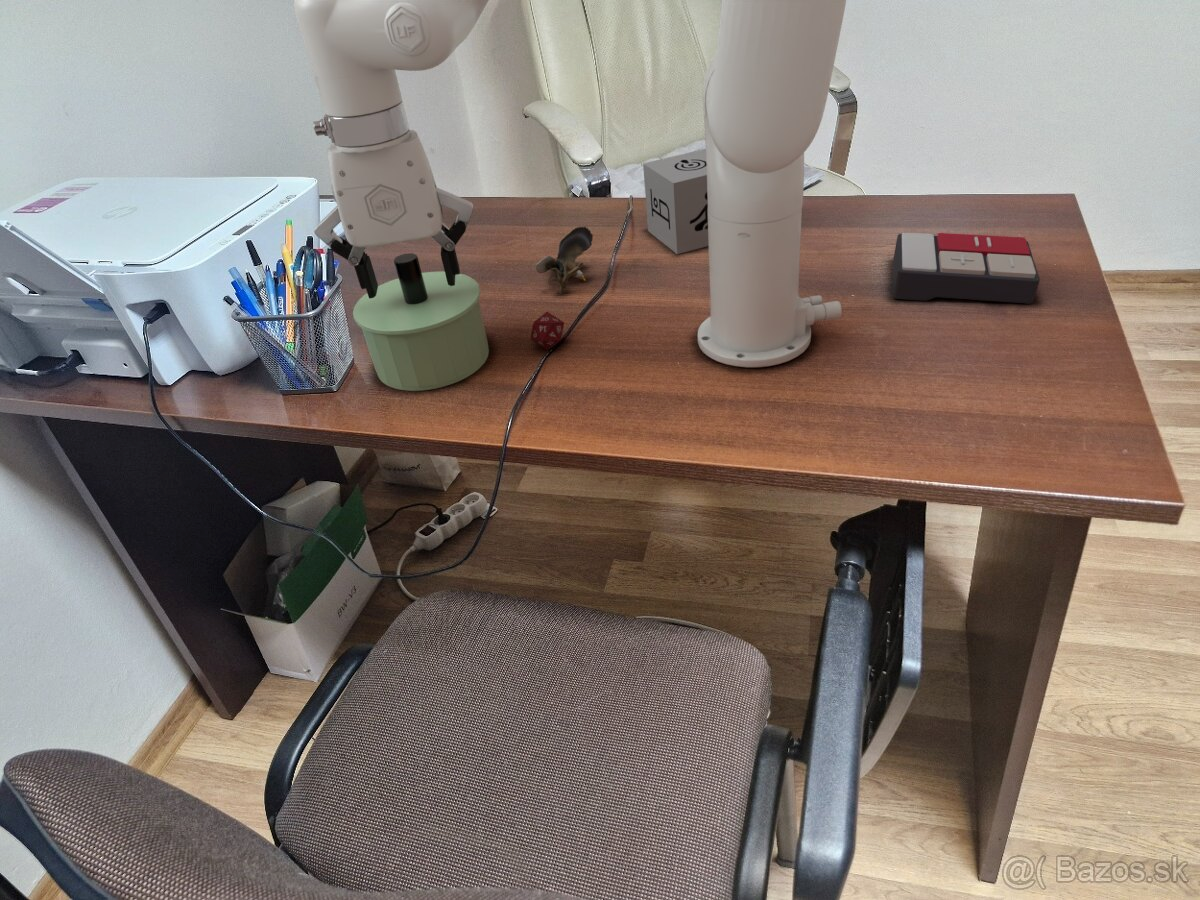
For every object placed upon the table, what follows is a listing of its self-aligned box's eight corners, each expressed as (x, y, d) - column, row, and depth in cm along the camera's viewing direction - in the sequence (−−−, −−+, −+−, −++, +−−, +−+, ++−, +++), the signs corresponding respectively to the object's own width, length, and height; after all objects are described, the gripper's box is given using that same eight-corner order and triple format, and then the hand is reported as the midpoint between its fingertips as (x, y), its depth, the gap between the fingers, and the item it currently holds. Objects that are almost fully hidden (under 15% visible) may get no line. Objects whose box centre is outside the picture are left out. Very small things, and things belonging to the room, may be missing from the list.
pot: (488, 324, 101) (476, 269, 96) (489, 380, 90) (476, 321, 86) (382, 341, 101) (365, 287, 96) (371, 399, 90) (351, 340, 85)
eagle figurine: (602, 283, 104) (606, 244, 110) (566, 246, 100) (572, 207, 106) (559, 312, 108) (565, 272, 114) (522, 277, 104) (531, 237, 110)
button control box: (1042, 274, 88) (899, 265, 92) (1031, 309, 91) (892, 299, 94) (1030, 234, 96) (898, 227, 100) (1020, 267, 99) (892, 259, 103)
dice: (529, 355, 94) (523, 324, 91) (540, 336, 97) (534, 306, 95) (560, 355, 93) (555, 325, 90) (569, 336, 96) (565, 306, 94)
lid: (481, 272, 97) (471, 224, 94) (481, 327, 86) (469, 275, 82) (363, 290, 97) (348, 242, 93) (347, 348, 85) (330, 296, 82)
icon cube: (648, 231, 119) (643, 163, 113) (708, 215, 121) (706, 148, 115) (677, 254, 112) (673, 183, 105) (740, 237, 114) (740, 166, 108)
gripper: (273, 150, 76) (330, 314, 86) (455, 123, 76) (490, 289, 87) (288, 128, 82) (340, 284, 92) (457, 104, 82) (489, 261, 93)
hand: (412, 286), depth 90 cm, fingers open, 8 cm apart
